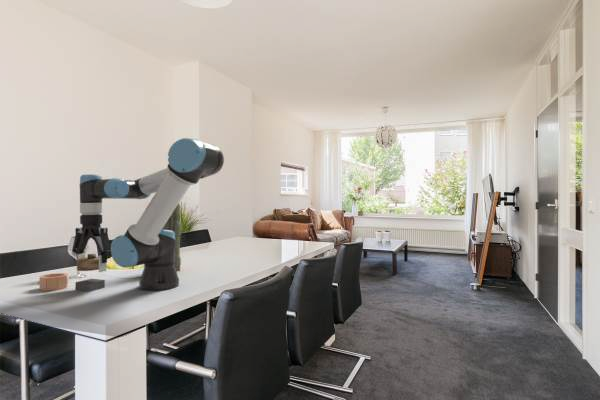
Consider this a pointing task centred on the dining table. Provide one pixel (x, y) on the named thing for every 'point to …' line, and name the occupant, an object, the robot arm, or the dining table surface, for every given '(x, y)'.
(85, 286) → the stand
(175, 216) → the thermos
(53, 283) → the bowl
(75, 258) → the wineglass
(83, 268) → the lid
